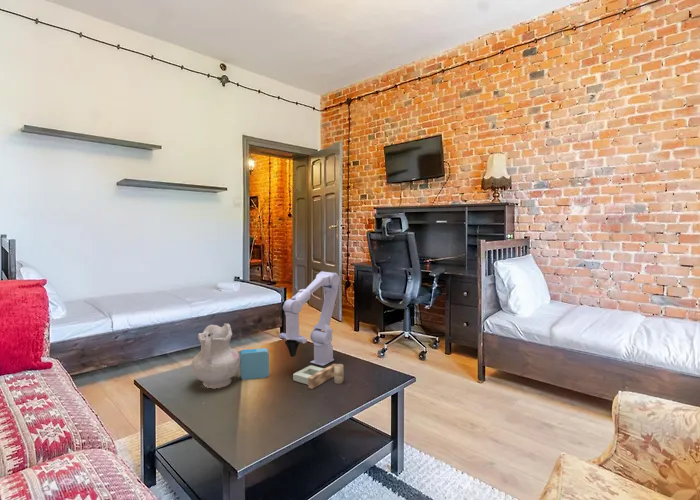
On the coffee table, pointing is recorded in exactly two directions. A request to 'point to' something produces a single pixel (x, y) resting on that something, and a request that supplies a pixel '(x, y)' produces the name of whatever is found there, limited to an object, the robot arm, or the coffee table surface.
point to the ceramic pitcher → (215, 357)
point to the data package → (254, 363)
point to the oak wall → (321, 376)
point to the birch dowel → (338, 373)
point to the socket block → (306, 374)
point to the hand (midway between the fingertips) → (292, 355)
